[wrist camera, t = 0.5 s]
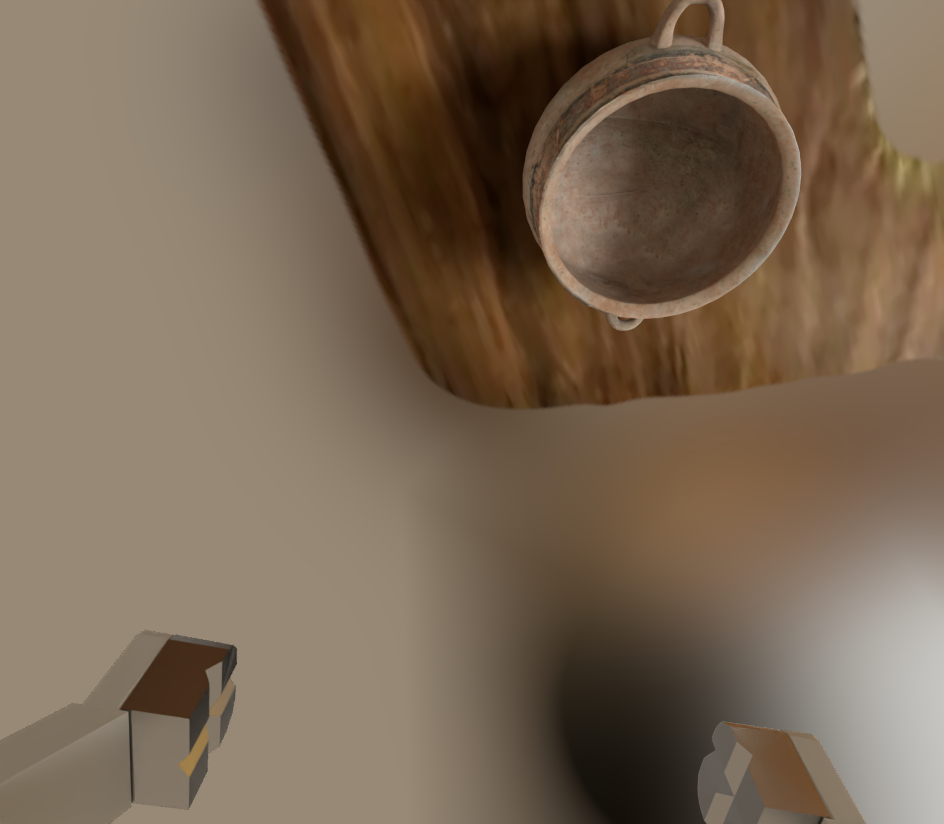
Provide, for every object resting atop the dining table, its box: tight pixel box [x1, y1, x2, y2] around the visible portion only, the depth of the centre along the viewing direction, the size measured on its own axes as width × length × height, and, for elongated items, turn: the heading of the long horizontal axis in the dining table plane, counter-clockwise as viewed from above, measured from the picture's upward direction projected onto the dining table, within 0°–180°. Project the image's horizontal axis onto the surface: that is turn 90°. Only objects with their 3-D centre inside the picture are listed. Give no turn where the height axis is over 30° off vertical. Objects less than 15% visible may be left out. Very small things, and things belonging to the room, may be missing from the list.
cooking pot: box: [523, 0, 801, 331], centre depth 49 cm, size 25×19×12 cm
